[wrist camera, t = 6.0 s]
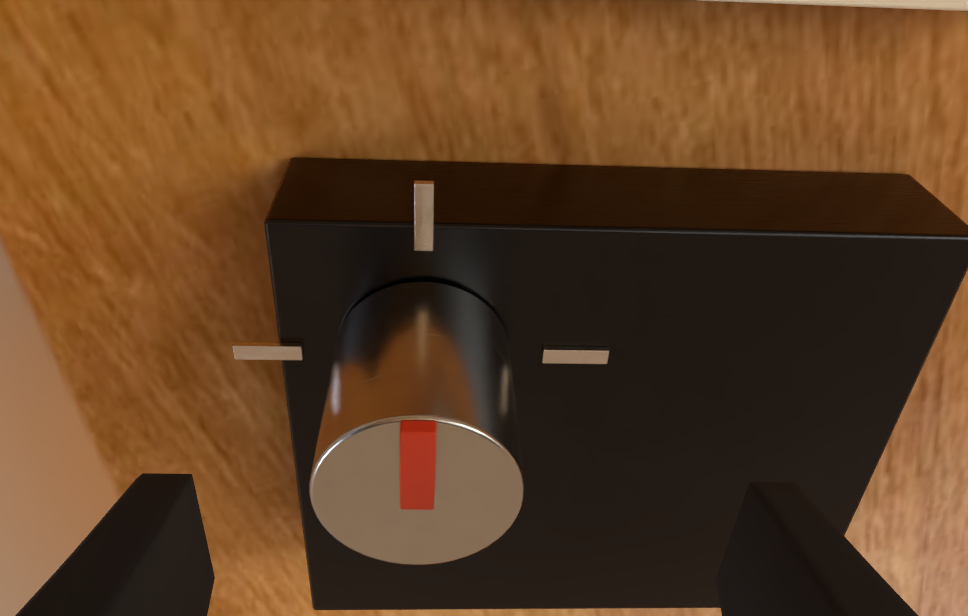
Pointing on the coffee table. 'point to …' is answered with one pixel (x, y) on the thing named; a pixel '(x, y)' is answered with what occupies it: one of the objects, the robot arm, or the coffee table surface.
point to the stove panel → (623, 353)
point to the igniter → (874, 3)
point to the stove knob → (419, 428)
